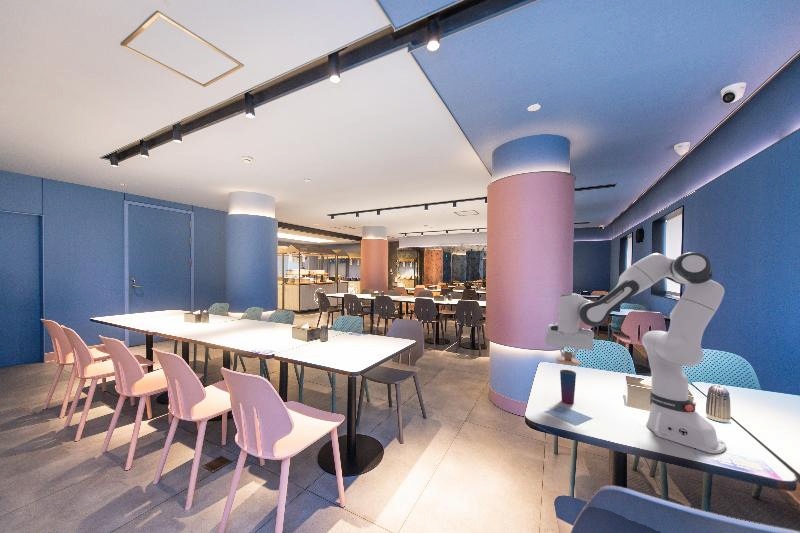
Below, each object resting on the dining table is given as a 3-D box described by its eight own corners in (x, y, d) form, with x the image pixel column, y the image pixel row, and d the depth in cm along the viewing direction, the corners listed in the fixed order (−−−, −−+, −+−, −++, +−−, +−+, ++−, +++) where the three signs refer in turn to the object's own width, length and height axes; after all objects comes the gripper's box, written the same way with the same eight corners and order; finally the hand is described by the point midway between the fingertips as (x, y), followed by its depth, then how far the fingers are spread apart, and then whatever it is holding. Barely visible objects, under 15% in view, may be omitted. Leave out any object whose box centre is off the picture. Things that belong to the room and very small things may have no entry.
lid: (584, 363, 142) (584, 353, 142) (572, 366, 136) (573, 355, 136) (563, 357, 150) (563, 348, 150) (551, 360, 145) (551, 350, 145)
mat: (593, 419, 130) (593, 418, 130) (575, 426, 124) (575, 425, 124) (561, 406, 142) (561, 405, 142) (544, 412, 136) (544, 411, 136)
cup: (578, 406, 142) (578, 374, 143) (562, 405, 144) (562, 373, 144) (572, 400, 149) (573, 370, 149) (557, 399, 151) (558, 369, 151)
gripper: (593, 328, 142) (593, 358, 142) (544, 324, 151) (544, 352, 151) (595, 330, 136) (594, 361, 136) (544, 326, 145) (544, 355, 145)
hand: (568, 356), depth 143 cm, fingers closed on lid, 3 cm apart
